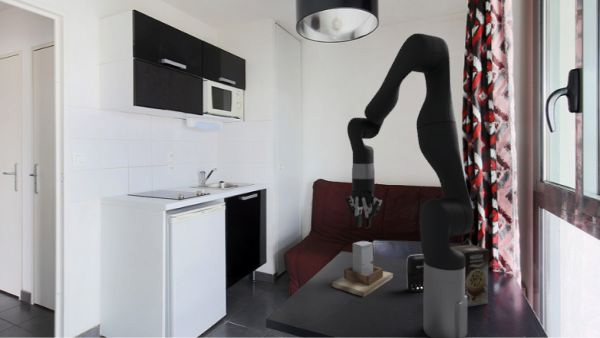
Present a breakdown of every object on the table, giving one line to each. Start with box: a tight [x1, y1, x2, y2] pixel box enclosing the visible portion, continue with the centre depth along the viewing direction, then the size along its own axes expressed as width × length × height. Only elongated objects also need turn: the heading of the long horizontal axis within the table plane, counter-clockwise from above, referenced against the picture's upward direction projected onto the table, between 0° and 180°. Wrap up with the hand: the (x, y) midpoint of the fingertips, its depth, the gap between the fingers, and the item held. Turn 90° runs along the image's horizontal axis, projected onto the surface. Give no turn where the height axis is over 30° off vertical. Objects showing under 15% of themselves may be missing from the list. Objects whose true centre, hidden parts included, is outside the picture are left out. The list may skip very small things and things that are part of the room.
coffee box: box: [450, 244, 490, 308], centre depth 95 cm, size 9×6×16 cm
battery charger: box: [405, 253, 424, 293], centre depth 103 cm, size 7×4×11 cm, turn 101°
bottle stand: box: [331, 265, 394, 298], centre depth 110 cm, size 12×20×4 cm, turn 139°
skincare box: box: [352, 240, 374, 275], centre depth 110 cm, size 6×4×12 cm
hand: (363, 227), depth 110 cm, fingers open, 2 cm apart
